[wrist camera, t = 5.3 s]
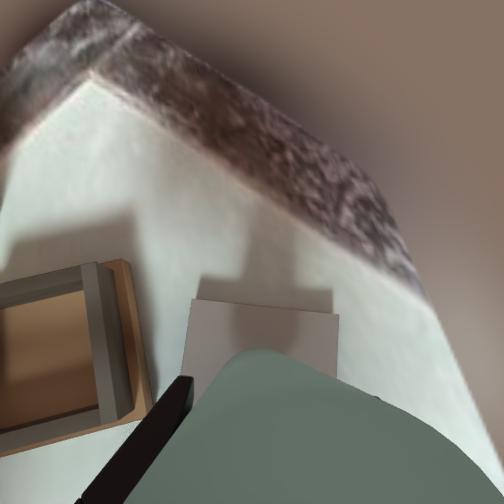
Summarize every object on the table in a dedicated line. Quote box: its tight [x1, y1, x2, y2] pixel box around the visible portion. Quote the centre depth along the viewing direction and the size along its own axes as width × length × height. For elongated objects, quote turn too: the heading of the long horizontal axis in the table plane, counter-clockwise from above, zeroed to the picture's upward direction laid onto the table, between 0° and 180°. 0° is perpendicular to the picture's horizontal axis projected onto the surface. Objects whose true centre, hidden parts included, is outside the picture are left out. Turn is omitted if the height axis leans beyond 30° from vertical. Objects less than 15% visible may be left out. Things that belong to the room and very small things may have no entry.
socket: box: [0, 259, 153, 457], centre depth 19 cm, size 9×9×4 cm
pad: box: [181, 299, 339, 408], centre depth 20 cm, size 9×9×2 cm
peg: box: [123, 348, 504, 504], centre depth 9 cm, size 5×5×13 cm
